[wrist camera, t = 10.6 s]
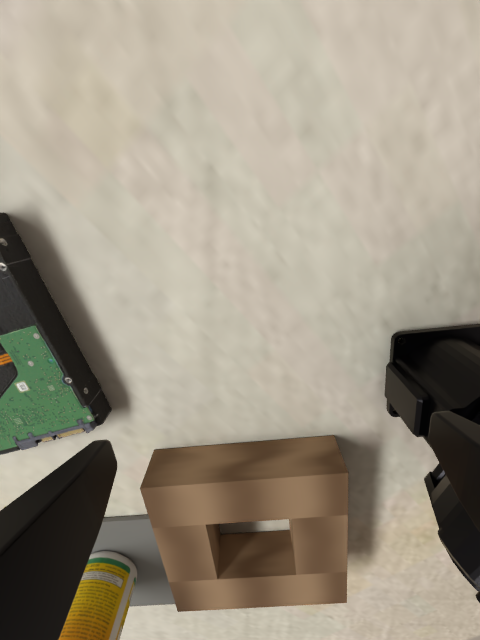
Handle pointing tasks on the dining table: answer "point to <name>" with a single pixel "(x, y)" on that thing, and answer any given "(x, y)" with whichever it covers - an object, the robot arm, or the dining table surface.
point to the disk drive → (39, 359)
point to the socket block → (246, 506)
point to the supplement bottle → (101, 598)
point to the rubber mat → (137, 556)
